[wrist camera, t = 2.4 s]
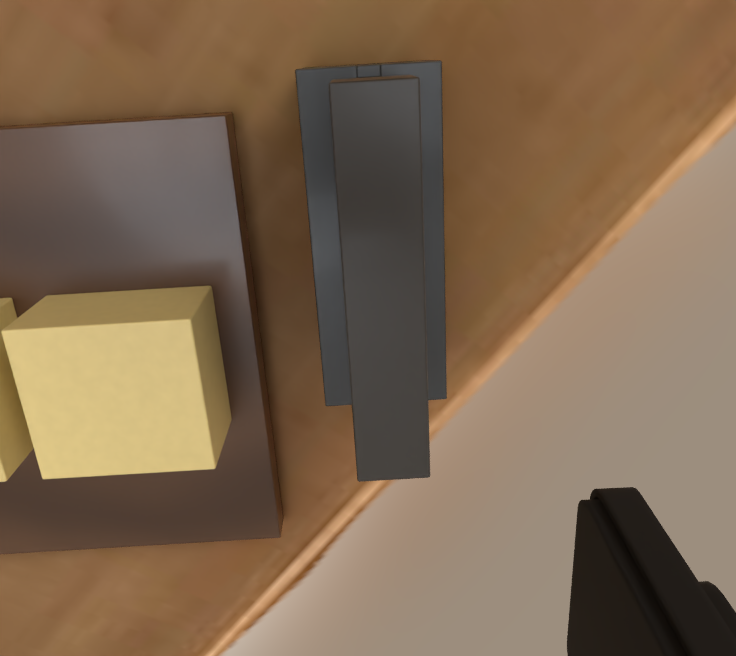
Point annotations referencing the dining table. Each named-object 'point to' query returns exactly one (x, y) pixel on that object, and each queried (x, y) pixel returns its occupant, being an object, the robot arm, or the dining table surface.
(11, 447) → the butter slice
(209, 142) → the cutting board
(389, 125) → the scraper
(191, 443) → the butter
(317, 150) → the scraper stand
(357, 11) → the dining table surface
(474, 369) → the dining table surface
